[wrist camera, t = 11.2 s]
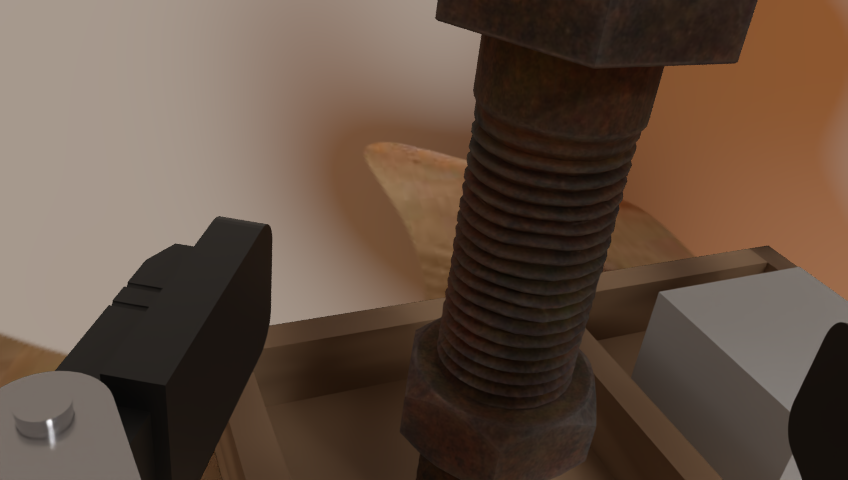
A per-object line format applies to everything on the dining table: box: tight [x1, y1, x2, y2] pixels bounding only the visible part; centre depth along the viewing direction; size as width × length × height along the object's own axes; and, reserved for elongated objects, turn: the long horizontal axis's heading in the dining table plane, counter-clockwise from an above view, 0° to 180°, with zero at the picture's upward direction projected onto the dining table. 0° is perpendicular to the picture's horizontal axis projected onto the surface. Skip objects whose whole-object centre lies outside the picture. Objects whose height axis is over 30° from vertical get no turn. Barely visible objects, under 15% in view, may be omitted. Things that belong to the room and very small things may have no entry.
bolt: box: [400, 0, 757, 480], centre depth 17 cm, size 6×5×15 cm
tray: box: [215, 246, 797, 480], centre depth 23 cm, size 22×14×4 cm, turn 113°
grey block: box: [631, 267, 848, 480], centre depth 24 cm, size 6×6×4 cm
